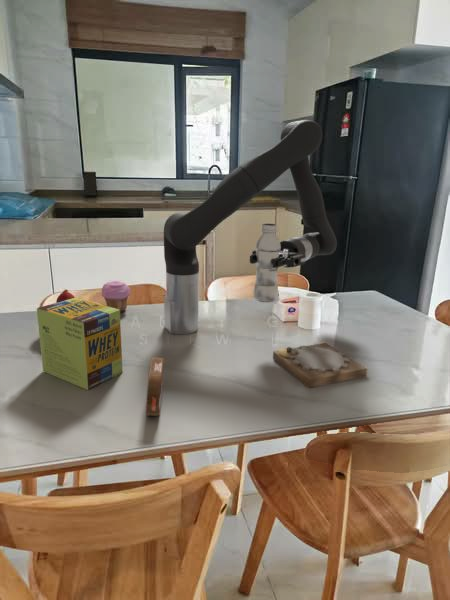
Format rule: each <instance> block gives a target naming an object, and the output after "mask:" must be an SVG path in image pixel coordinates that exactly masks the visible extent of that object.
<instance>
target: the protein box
mask: <svg viewBox="0 0 450 600" xmlns="http://www.w3.org/2000/svg"><path fill="white" fill-rule="evenodd" d="M93 302H94V301H89V300H85V299H81V298H78V297H75V298H72V299H69V300H65V301H61V302H58V303H56V302H55V303H52V304H47V305H43V306H40V307H37V308H36V315H37V324H38V334H39V345H40V352H41V353H40V354H41V365H42V371H43V372H44V373H47V374H49V375H51V376H54V377H56V378H58V379H61V380H63V381H65V382H68V383H70V384H72V385H75V386H78V387H80V388H82V389H84V390H87V391H89V390H91V389H93V388H95V387H96V386H99V385H101V384H102V383H105V382H106V381H108V380H111V379H112V378H114V377H116V376H119V375H120V374H122V373H123V372H124V371H123V354H122V351H123V350H122V331H121V329H122V327H121V312H120V310H119V309H116V308H112V307H108V306H107V305H104V304H102V305H101V303H99V304H97V303H98V302H96V303H93Z"/></svg>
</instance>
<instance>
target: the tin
mask: <svg viewBox="0 0 450 600" xmlns="http://www.w3.org/2000/svg"><path fill="white" fill-rule="evenodd" d="M164 366H165V358H164V357H154V356H152V357H151V361H150V367H149V372H148V380H147V389H146V401H145V402H146V403H145V405H146V407H145V416H160V415H161V408H162V399H163V398H162V397H163V387H164V385H163V383H164V376H163V375H164Z"/></svg>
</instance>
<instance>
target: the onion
mask: <svg viewBox="0 0 450 600" xmlns="http://www.w3.org/2000/svg"><path fill="white" fill-rule="evenodd" d="M72 298H76V297H75V295H74V294H73V293H71V292H69V289H68V288H64V290H63V291H62V292H61V293H60V294H59V295H58V297H57V298H56V301H55V303H58V302H61V301H65V300H69V299H72Z"/></svg>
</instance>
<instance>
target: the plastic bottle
mask: <svg viewBox="0 0 450 600" xmlns="http://www.w3.org/2000/svg"><path fill="white" fill-rule="evenodd" d="M277 225H278V224H276V223H267V222H266V223H262V224H261V232H262V233H261V235H260V236H259V238H258V239H257V240H256V243H255V249H256V257H257V263H256V273H255V280H254V281H255V282H254V285H253V289H252V290H253V292H252V293H253V298H254V300H255V301H257V302H260V303H273V302H275V301H276V300H277V298H278V297H279V296H278V294H279V287H278V285H279V284H278V268H273V260H274V259H276V258H279V255H280V250H281V244H280V242H281V241H280V239H279V238H278V236H277V235H276V233H277V232H278V230H277Z"/></svg>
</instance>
